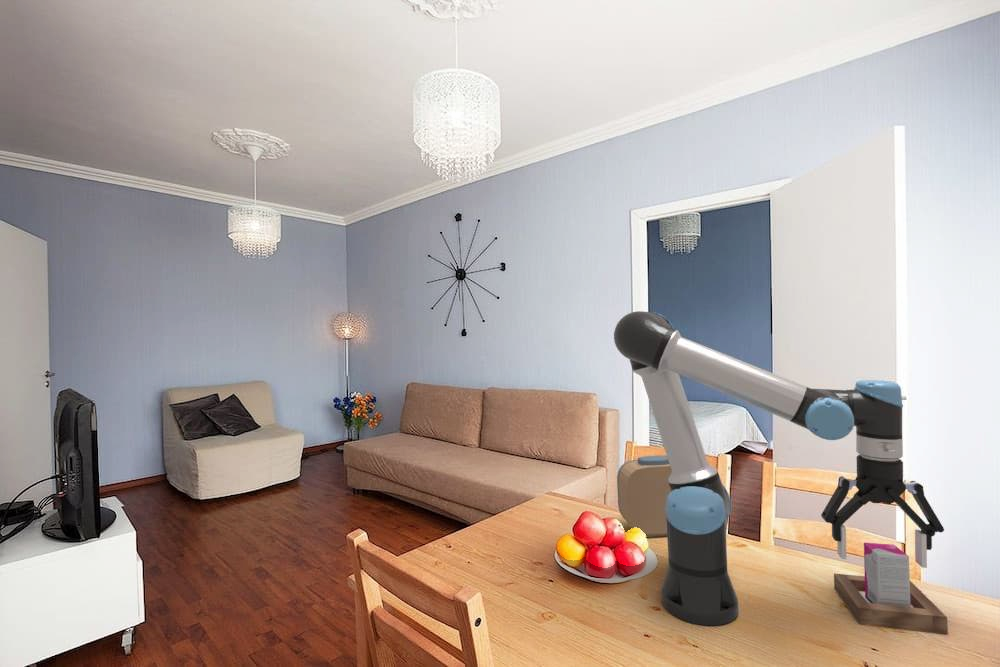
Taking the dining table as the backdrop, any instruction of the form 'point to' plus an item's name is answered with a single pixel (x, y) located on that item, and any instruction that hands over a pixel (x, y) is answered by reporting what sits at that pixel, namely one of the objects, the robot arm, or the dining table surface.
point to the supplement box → (886, 575)
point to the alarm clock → (645, 493)
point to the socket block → (890, 608)
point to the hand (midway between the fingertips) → (880, 560)
